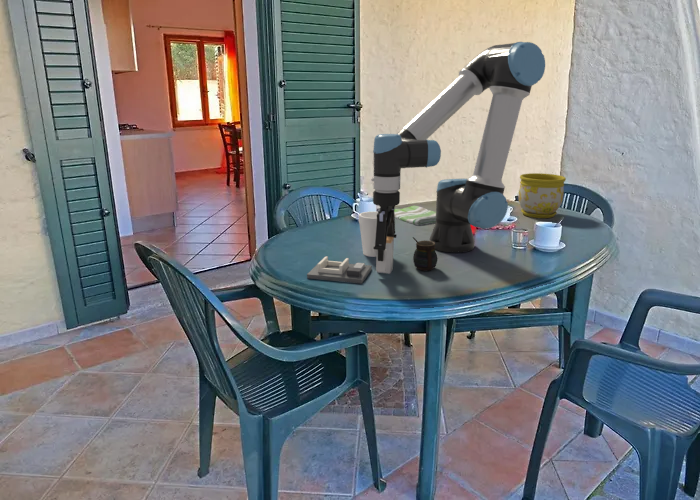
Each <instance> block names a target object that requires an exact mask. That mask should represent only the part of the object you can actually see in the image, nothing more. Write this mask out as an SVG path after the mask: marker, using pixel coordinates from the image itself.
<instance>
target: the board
mask: <svg viewBox="0 0 700 500" xmlns="http://www.w3.org/2000/svg"><path fill="white" fill-rule="evenodd" d="M349 261H350V258H349V257H346V258H345V259H344V260H343V261H336V260H335V261H334V260H329V256H324V257H323V258H322V259H321V260H320V261H319V262H318V263H316V265H314V267H313V268H312V269H311V270H310V271H309V272H307V274H306V279H310V280H312V279H313V280H322V281H329V282H330V281H332V282H333V281H334V282H341V283H351V284H363V282H364V281H365V280H366V278H367V277H368V275H369V274H370V273H371V271H372V269H373V266H372V265H368V264H365V263H364V262H356V263H350V262H349Z"/></svg>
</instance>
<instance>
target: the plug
mask: <svg viewBox="0 0 700 500" xmlns="http://www.w3.org/2000/svg"><path fill="white" fill-rule="evenodd" d="M393 243H394V244H395V238H394V237H388V236H387V240H386V272H382V271H376V273H380V274H389V275H390V274H391V273H392V271H393V267H394V250H393Z"/></svg>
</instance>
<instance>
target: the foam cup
mask: <svg viewBox="0 0 700 500" xmlns="http://www.w3.org/2000/svg"><path fill="white" fill-rule="evenodd" d="M377 213H378V211H365V212H364V211H362V212H361V213H360V212H359V214H358V223H359V231H360V232H359V233H360V237H361V238H360V239H361V247H362V253H363V255H364V256H366V257H372V258H373V257H374V258H376V249H374V247H375V239H376V226H377Z"/></svg>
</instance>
